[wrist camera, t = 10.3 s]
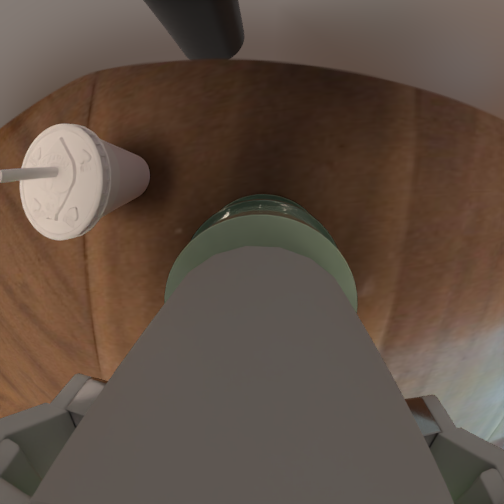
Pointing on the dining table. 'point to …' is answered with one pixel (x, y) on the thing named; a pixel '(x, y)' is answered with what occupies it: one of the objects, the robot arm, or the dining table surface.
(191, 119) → the dining table surface
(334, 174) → the dining table surface
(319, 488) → the can
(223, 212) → the cup stack
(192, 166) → the dining table surface
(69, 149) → the smoothie
